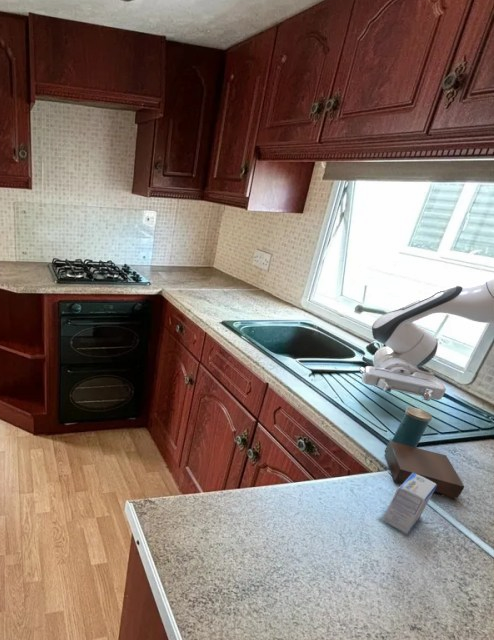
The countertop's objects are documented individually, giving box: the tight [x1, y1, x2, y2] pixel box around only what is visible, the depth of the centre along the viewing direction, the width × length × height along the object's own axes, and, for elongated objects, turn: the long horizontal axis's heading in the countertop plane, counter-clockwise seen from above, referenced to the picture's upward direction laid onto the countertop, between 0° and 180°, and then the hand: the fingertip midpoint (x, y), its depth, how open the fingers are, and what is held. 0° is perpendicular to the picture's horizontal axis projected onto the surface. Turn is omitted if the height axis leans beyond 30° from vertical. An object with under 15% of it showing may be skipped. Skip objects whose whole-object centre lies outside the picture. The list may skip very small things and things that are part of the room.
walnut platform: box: [384, 440, 465, 500], centre depth 93 cm, size 12×12×4 cm
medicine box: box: [382, 473, 437, 535], centre depth 78 cm, size 8×4×9 cm, turn 129°
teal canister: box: [391, 406, 433, 448], centre depth 102 cm, size 5×5×10 cm
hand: (407, 393), depth 111 cm, fingers open, 8 cm apart
